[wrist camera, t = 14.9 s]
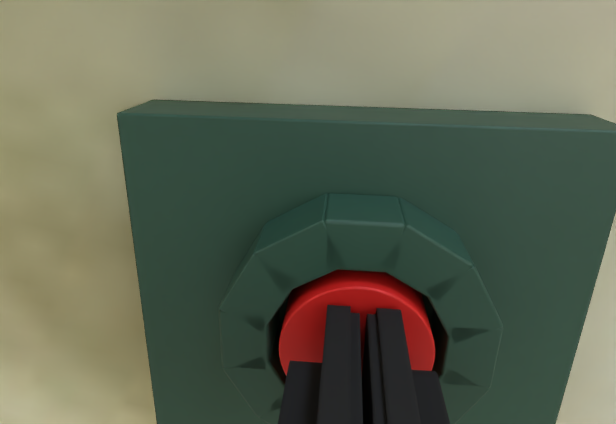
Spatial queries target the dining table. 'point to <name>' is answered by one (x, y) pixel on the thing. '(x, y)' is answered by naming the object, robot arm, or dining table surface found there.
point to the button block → (365, 242)
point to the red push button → (363, 299)
